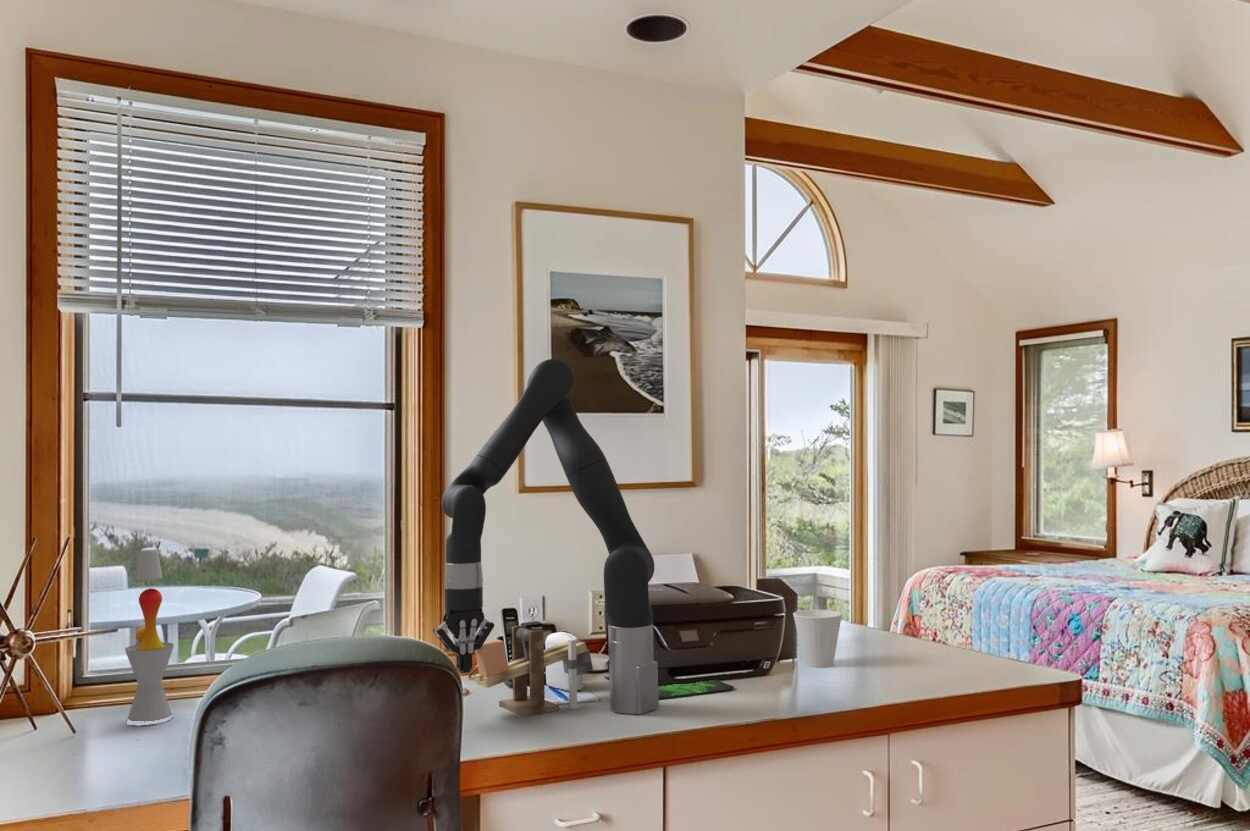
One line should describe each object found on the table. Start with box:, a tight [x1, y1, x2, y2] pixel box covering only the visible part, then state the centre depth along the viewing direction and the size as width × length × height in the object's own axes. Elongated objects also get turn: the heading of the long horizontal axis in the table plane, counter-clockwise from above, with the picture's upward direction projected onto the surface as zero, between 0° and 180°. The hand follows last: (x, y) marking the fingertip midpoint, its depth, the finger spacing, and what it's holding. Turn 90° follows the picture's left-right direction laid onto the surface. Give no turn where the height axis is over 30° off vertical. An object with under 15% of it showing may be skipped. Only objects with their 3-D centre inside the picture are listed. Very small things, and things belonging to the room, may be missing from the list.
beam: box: [474, 627, 593, 688], centre depth 206 cm, size 25×6×12 cm, turn 125°
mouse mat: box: [604, 675, 735, 701], centre depth 224 cm, size 27×22×1 cm
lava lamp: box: [124, 547, 175, 722], centre depth 202 cm, size 9×9×35 cm
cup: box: [792, 609, 843, 669], centre depth 240 cm, size 12×12×12 cm
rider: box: [474, 638, 509, 678], centre depth 200 cm, size 5×3×7 cm
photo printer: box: [544, 631, 584, 692], centre depth 222 cm, size 10×4×12 cm, turn 39°
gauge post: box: [567, 639, 578, 710], centre depth 204 cm, size 2×2×14 cm
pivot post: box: [498, 624, 560, 717], centre depth 205 cm, size 8×11×16 cm
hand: (464, 672), depth 197 cm, fingers closed
